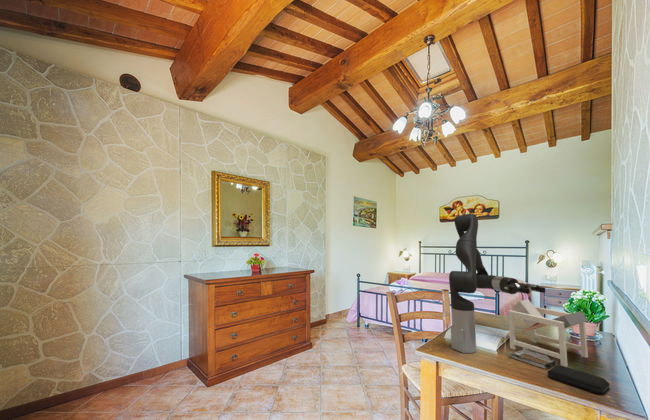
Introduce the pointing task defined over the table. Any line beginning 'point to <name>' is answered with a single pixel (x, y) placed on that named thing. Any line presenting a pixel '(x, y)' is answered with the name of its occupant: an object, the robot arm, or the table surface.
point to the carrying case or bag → (579, 379)
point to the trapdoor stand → (534, 336)
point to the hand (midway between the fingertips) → (537, 290)
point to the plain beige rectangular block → (527, 311)
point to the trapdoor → (564, 320)
